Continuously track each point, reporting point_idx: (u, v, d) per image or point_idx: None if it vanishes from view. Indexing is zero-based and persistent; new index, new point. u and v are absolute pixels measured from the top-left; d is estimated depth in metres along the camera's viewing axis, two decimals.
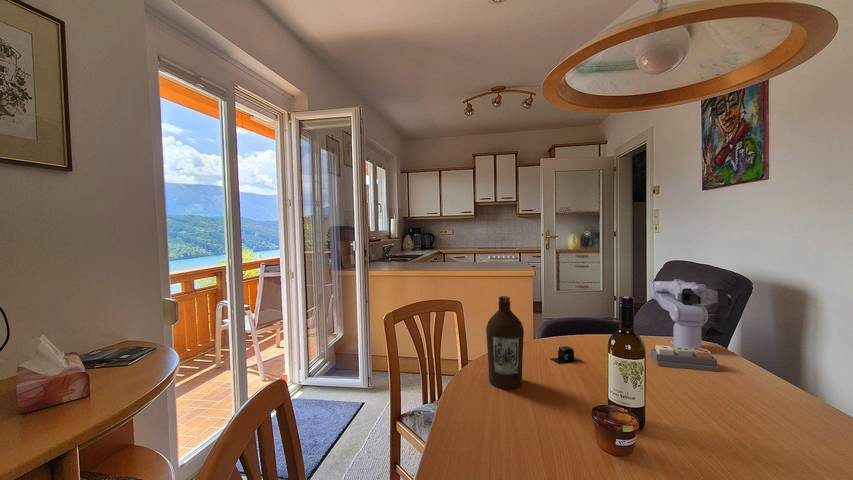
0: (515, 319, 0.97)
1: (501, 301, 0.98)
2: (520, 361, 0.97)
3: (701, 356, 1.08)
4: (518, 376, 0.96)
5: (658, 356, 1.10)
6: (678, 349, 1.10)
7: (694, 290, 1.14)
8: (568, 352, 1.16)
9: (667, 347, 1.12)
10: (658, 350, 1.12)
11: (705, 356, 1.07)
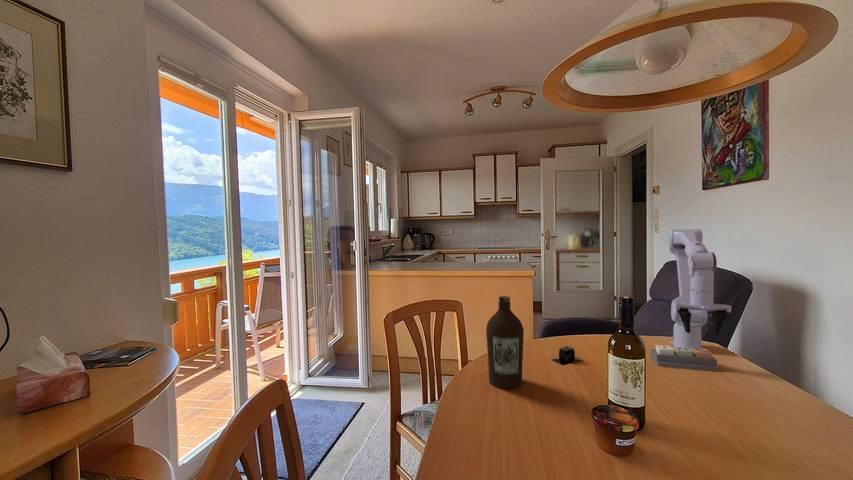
0: (515, 319, 0.97)
1: (501, 301, 0.98)
2: (520, 361, 0.97)
3: (701, 356, 1.08)
4: (518, 376, 0.96)
5: (658, 356, 1.10)
6: (678, 349, 1.10)
7: (696, 307, 1.08)
8: (569, 352, 1.15)
9: (667, 347, 1.12)
10: (658, 350, 1.12)
11: (705, 356, 1.07)
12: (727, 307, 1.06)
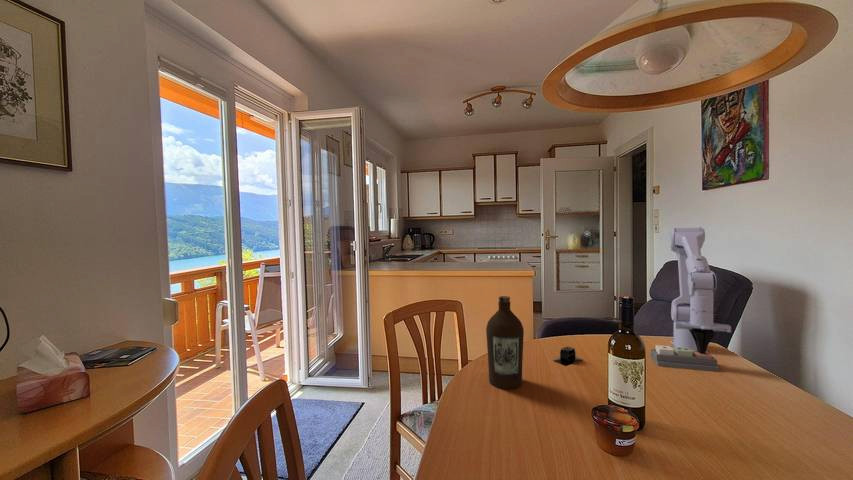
0: (515, 319, 0.97)
1: (501, 301, 0.98)
2: (520, 361, 0.97)
3: None
4: (518, 376, 0.96)
5: (658, 356, 1.10)
6: (678, 349, 1.10)
7: None
8: (570, 352, 1.15)
9: (667, 347, 1.12)
10: (658, 350, 1.12)
11: None
12: (727, 327, 1.06)
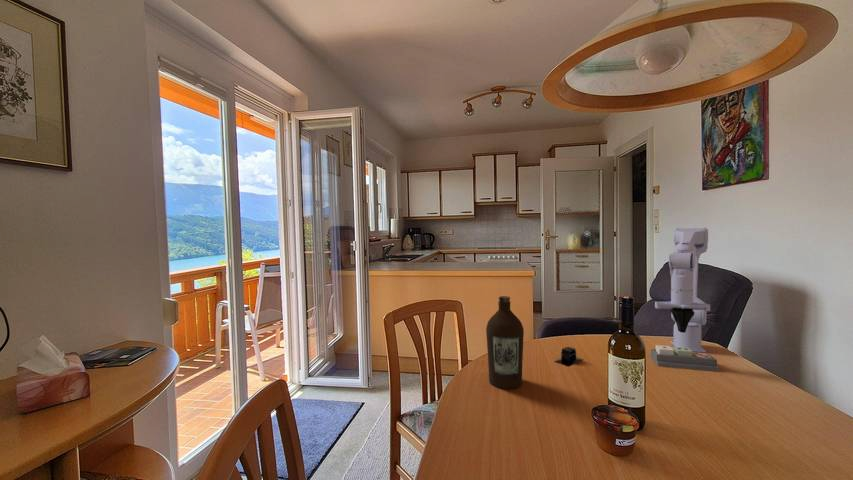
0: (515, 319, 0.97)
1: (501, 301, 0.98)
2: (520, 361, 0.97)
3: None
4: (518, 376, 0.96)
5: (658, 356, 1.10)
6: (678, 349, 1.10)
7: (676, 306, 1.09)
8: (571, 353, 1.15)
9: (667, 347, 1.12)
10: (658, 350, 1.12)
11: None
12: (706, 306, 1.07)
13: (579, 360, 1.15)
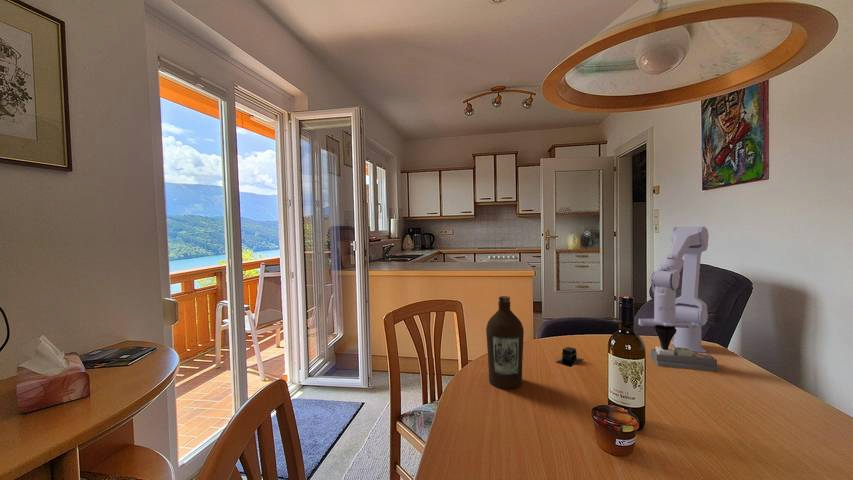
0: (515, 319, 0.97)
1: (501, 301, 0.98)
2: (520, 361, 0.97)
3: None
4: (518, 376, 0.96)
5: (658, 356, 1.10)
6: (678, 349, 1.10)
7: None
8: (572, 353, 1.15)
9: None
10: (658, 351, 1.12)
11: None
12: (688, 324, 1.09)
13: (579, 360, 1.15)
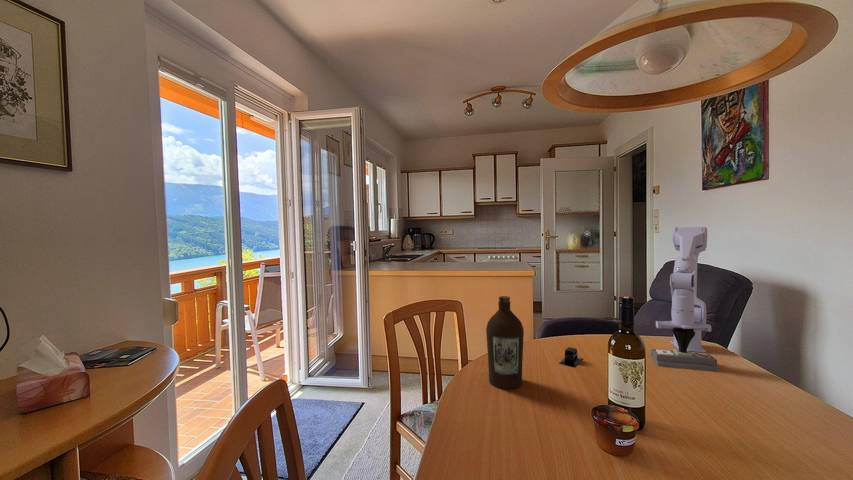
0: (515, 319, 0.97)
1: (501, 301, 0.98)
2: (520, 361, 0.97)
3: None
4: (518, 376, 0.96)
5: (658, 356, 1.10)
6: (678, 352, 1.10)
7: None
8: (573, 353, 1.15)
9: (667, 351, 1.12)
10: None
11: None
12: (707, 326, 1.08)
13: (580, 360, 1.15)
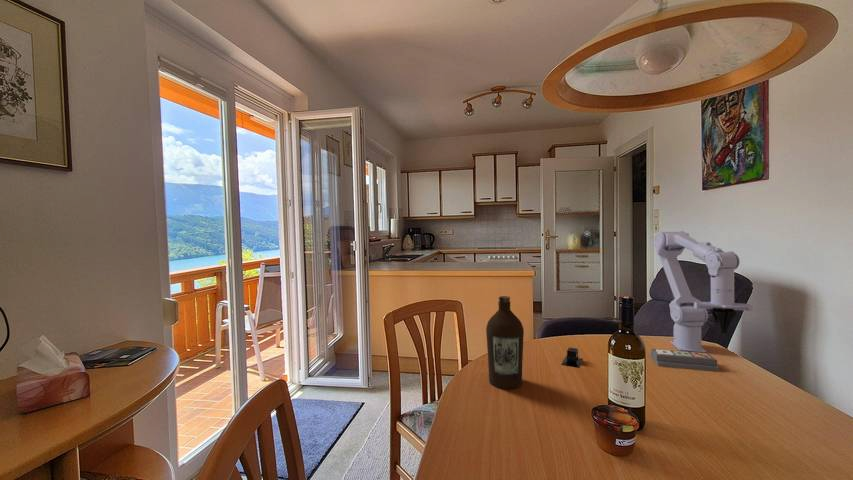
0: (515, 319, 0.97)
1: (501, 301, 0.98)
2: (520, 361, 0.97)
3: None
4: (518, 376, 0.96)
5: (658, 356, 1.10)
6: (678, 353, 1.10)
7: (717, 306, 1.08)
8: None
9: (667, 351, 1.12)
10: None
11: None
12: (748, 306, 1.06)
13: (581, 359, 1.16)
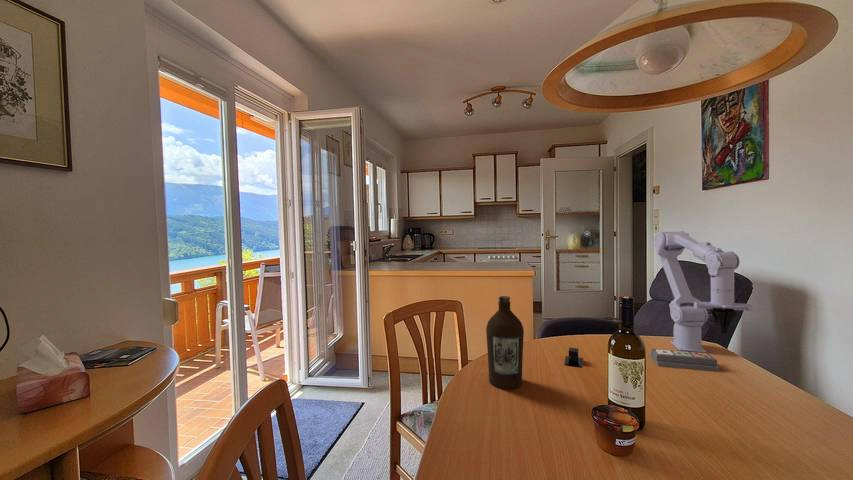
0: (515, 319, 0.97)
1: (501, 301, 0.98)
2: (520, 361, 0.97)
3: None
4: (518, 376, 0.96)
5: (658, 356, 1.10)
6: (678, 353, 1.10)
7: (717, 306, 1.08)
8: None
9: (667, 351, 1.12)
10: None
11: None
12: (748, 306, 1.06)
13: (581, 359, 1.16)
